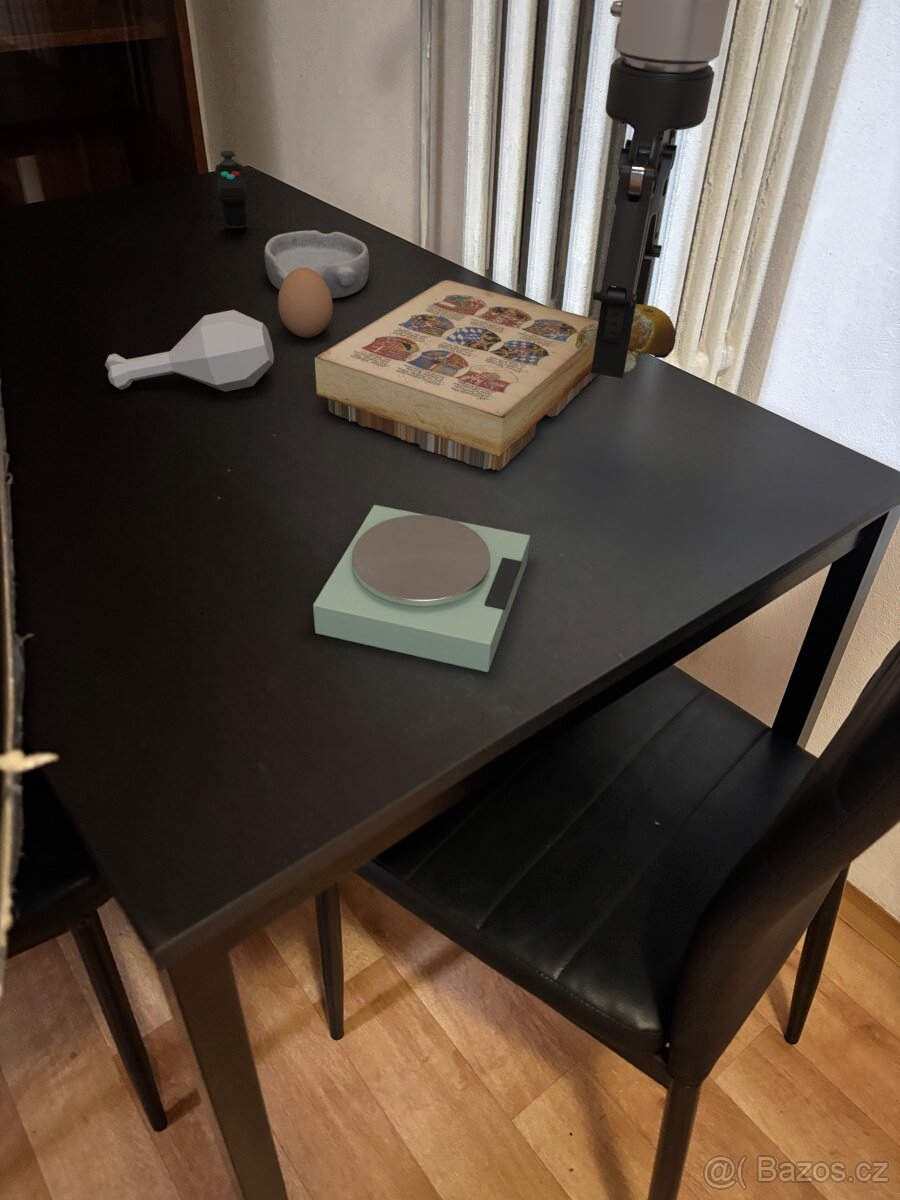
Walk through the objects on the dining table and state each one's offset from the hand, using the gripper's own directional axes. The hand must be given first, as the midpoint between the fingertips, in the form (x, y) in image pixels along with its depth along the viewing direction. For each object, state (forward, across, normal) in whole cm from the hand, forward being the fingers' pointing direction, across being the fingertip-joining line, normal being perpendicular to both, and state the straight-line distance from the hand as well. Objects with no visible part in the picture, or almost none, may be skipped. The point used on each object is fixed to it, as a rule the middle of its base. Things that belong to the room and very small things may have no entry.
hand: (616, 350), depth 81 cm
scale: (+13, +23, -10) cm, 28 cm away
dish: (+13, -35, -44) cm, 58 cm away
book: (+13, -13, -18) cm, 26 cm away
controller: (+13, -48, -63) cm, 81 cm away
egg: (+13, -19, -39) cm, 45 cm away
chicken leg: (+13, -3, -46) cm, 48 cm away
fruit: (+1, -1, 0) cm, 1 cm away
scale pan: (+10, +23, -11) cm, 27 cm away
